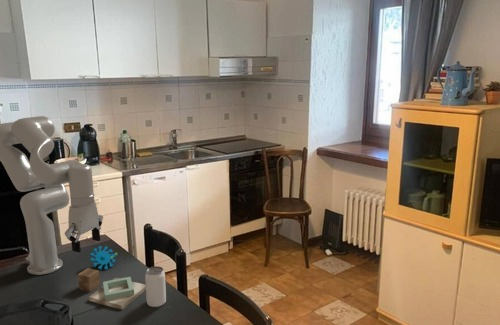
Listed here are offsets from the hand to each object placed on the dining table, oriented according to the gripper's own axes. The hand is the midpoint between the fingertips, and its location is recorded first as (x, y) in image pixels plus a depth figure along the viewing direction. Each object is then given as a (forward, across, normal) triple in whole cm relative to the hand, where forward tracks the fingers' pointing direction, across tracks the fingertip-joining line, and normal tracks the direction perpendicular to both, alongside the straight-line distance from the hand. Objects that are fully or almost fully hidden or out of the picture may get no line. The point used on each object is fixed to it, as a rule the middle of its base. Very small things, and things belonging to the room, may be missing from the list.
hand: (86, 245), depth 146 cm
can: (+16, -1, +28) cm, 32 cm away
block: (+16, 0, 0) cm, 16 cm away
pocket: (+15, 0, +13) cm, 19 cm away
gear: (+17, -15, -6) cm, 23 cm away
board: (+16, 0, +13) cm, 21 cm away
